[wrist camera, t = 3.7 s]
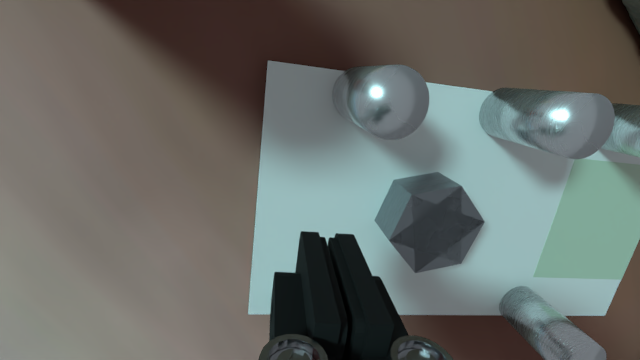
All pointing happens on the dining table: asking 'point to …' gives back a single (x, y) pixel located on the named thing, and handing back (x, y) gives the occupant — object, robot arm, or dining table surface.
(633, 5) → the elongated rock
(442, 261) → the grey faceted hexagonal block
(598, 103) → the spacers
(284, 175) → the board
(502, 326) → the dining table surface
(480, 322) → the dining table surface
